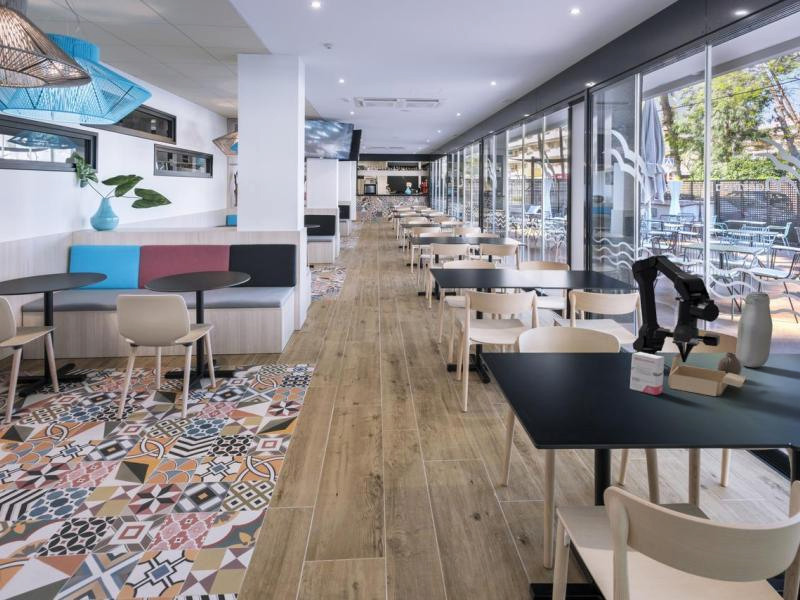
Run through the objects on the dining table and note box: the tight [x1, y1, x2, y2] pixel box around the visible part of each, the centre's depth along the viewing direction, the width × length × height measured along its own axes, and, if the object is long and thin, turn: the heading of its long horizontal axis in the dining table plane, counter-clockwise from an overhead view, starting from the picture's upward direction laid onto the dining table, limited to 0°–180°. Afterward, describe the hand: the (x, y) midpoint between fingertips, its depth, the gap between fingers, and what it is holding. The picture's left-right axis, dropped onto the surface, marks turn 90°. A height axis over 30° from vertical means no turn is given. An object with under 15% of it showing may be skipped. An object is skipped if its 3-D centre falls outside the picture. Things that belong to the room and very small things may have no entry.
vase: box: [717, 352, 742, 375], centre depth 187 cm, size 7×7×9 cm
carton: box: [667, 364, 728, 397], centre depth 179 cm, size 15×17×4 cm
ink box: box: [629, 352, 665, 396], centre depth 174 cm, size 9×5×12 cm, turn 39°
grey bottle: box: [735, 291, 773, 369], centre depth 200 cm, size 10×10×28 cm
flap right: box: [722, 373, 747, 388], centre depth 173 cm, size 1×12×5 cm
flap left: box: [669, 352, 682, 373], centre depth 183 cm, size 1×12×5 cm, turn 142°
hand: (684, 362), depth 181 cm, fingers closed
